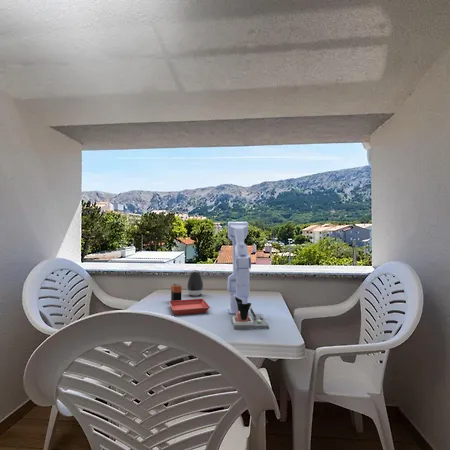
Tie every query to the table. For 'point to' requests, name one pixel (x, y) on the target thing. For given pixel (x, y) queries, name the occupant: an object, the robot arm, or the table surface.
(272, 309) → the table surface
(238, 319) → the pink cube
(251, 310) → the lever
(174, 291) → the battery
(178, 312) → the plant saucer
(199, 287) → the dark grey egg shape
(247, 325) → the panel
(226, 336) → the table surface
